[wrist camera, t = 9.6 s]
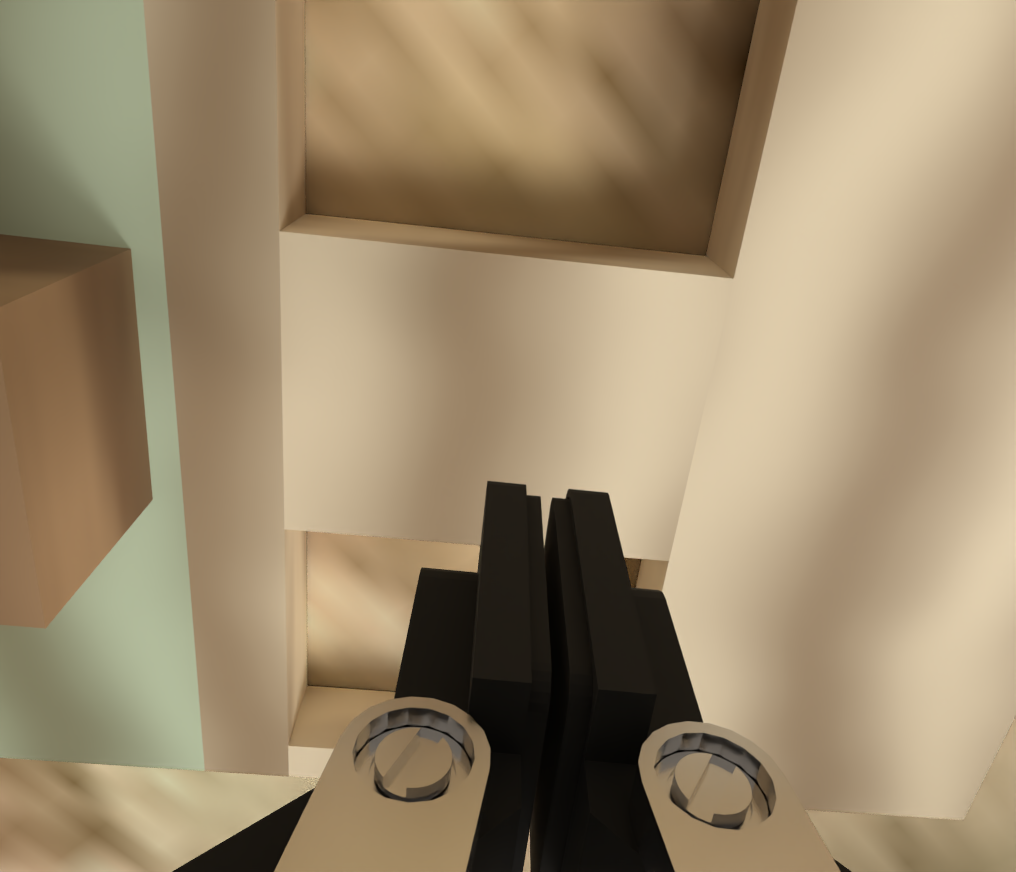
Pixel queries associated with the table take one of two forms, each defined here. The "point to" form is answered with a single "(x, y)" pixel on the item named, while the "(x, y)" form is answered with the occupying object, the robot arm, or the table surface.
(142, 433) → the walnut block
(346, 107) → the table surface
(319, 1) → the table surface
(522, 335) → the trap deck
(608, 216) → the table surface
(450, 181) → the table surface
